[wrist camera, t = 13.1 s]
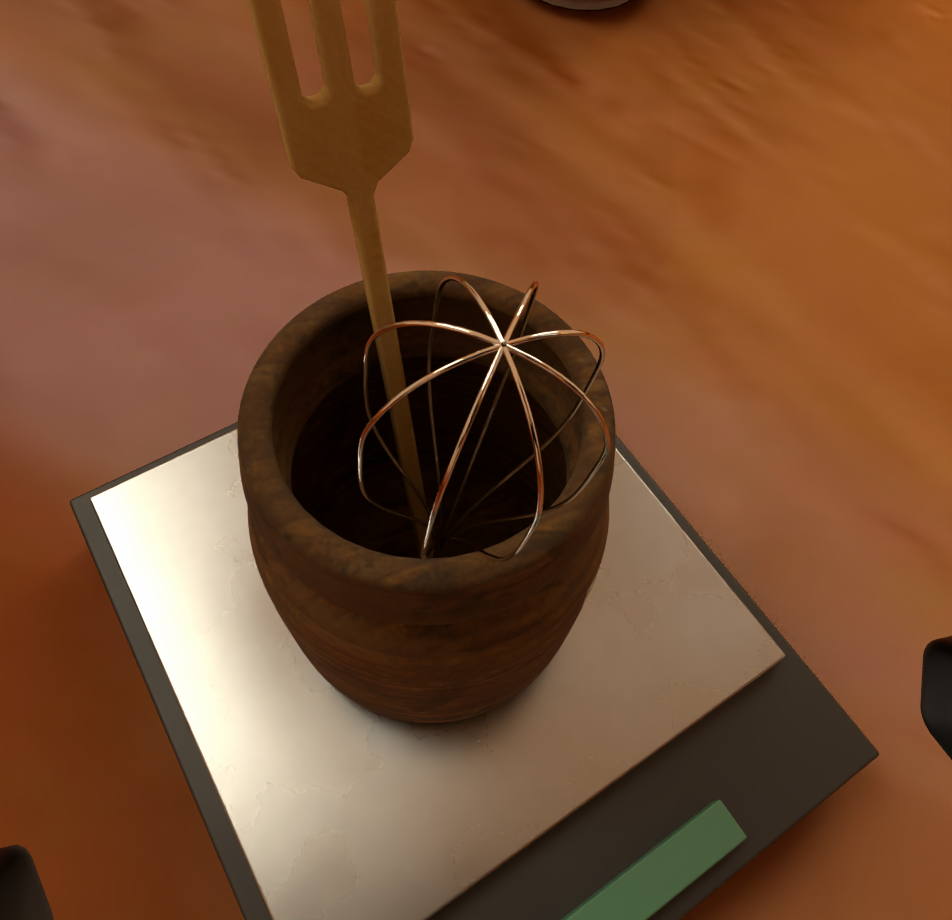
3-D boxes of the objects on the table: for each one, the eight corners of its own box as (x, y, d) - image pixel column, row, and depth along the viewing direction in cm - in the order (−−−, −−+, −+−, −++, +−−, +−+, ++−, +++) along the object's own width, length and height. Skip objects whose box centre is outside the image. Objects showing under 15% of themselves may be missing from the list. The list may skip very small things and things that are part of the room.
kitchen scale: (836, 765, 17) (895, 750, 15) (367, 1147, 13) (353, 1200, 11) (498, 341, 22) (504, 284, 20) (102, 534, 19) (57, 490, 17)
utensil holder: (344, 785, 14) (59, 528, 4) (256, 503, 17) (-54, -117, 6) (621, 665, 15) (1013, 215, 5) (497, 421, 18) (577, -205, 8)
